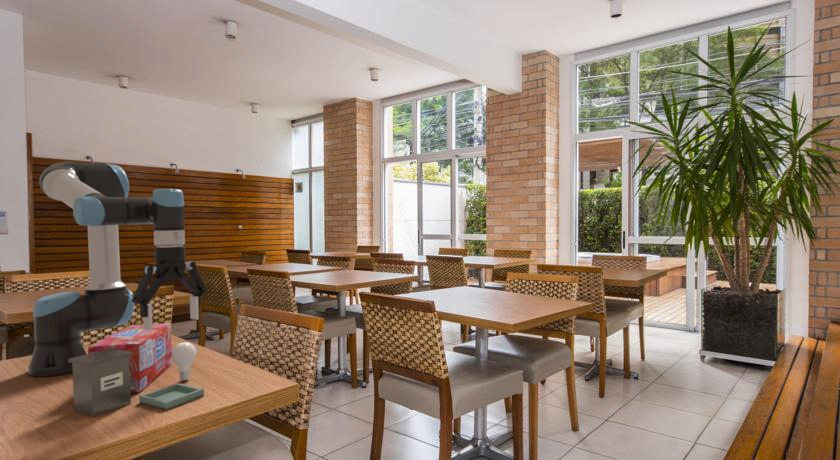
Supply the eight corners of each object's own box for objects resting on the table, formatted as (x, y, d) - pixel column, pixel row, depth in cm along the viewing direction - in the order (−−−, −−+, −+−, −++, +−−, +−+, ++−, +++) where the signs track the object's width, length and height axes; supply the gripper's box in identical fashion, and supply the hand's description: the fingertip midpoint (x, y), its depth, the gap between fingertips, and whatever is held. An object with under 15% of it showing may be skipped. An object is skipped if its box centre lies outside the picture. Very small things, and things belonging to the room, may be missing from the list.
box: (130, 366, 157) (128, 323, 156) (174, 364, 159) (172, 321, 158) (86, 398, 130) (84, 346, 129) (140, 394, 132) (138, 343, 132)
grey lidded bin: (70, 411, 121) (68, 358, 120) (113, 397, 130) (111, 348, 129) (91, 418, 116) (89, 363, 116) (134, 403, 125) (132, 352, 125)
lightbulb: (187, 385, 138) (186, 345, 138) (167, 384, 139) (166, 344, 139) (201, 377, 144) (200, 340, 144) (182, 376, 146) (181, 339, 145)
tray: (139, 403, 125) (139, 395, 125) (177, 389, 135) (177, 383, 134) (166, 410, 120) (166, 402, 120) (204, 395, 129) (203, 389, 129)
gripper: (131, 249, 122) (134, 335, 123) (218, 243, 144) (220, 316, 145) (114, 248, 126) (117, 332, 127) (201, 243, 148) (203, 314, 148)
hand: (172, 323), depth 136 cm, fingers open, 13 cm apart
